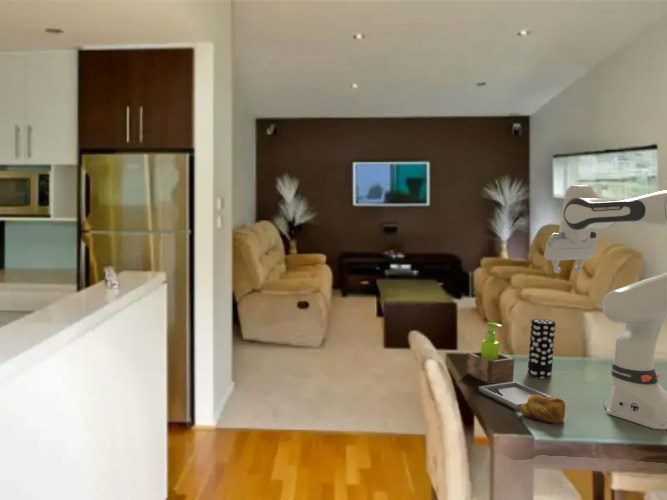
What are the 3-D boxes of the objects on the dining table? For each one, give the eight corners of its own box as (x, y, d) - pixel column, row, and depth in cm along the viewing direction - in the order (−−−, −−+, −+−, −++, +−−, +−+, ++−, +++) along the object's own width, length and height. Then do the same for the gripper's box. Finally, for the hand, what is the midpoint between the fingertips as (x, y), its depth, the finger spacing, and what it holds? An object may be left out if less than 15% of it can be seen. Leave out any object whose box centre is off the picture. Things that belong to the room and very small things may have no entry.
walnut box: (512, 381, 218) (514, 358, 217) (488, 384, 213) (489, 361, 212) (490, 371, 229) (491, 350, 228) (466, 374, 224) (467, 352, 223)
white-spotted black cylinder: (548, 372, 230) (552, 319, 228) (553, 379, 222) (558, 324, 220) (525, 371, 231) (529, 318, 229) (530, 377, 223) (534, 323, 221)
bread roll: (516, 418, 183) (518, 392, 182) (525, 409, 191) (527, 383, 190) (561, 428, 176) (563, 401, 175) (569, 418, 184) (571, 392, 183)
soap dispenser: (492, 381, 217) (496, 325, 215) (476, 376, 222) (479, 321, 220) (502, 378, 220) (506, 323, 218) (486, 373, 226) (489, 320, 224)
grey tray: (555, 403, 196) (555, 398, 196) (516, 410, 189) (516, 404, 189) (515, 386, 212) (515, 381, 212) (478, 391, 205) (478, 386, 205)
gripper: (556, 235, 202) (550, 275, 205) (602, 233, 210) (595, 272, 213) (542, 231, 207) (537, 271, 210) (587, 229, 216) (581, 268, 219)
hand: (567, 272), depth 212 cm, fingers open, 8 cm apart
